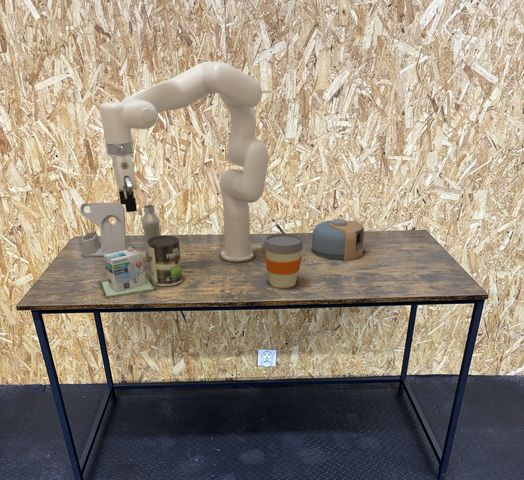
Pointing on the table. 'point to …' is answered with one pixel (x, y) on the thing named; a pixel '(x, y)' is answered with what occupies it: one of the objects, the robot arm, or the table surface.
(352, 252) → the alarm clock
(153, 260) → the coffee can
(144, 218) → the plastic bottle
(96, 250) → the phone holder
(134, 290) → the pad
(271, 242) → the reusable coffee cup
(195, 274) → the table surface
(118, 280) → the light bulb box
